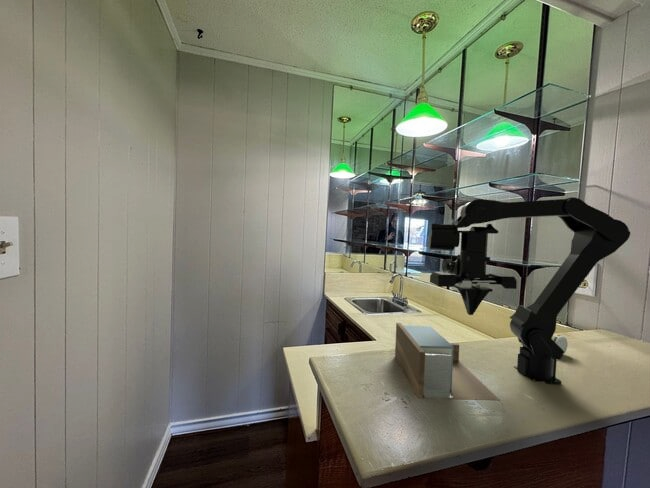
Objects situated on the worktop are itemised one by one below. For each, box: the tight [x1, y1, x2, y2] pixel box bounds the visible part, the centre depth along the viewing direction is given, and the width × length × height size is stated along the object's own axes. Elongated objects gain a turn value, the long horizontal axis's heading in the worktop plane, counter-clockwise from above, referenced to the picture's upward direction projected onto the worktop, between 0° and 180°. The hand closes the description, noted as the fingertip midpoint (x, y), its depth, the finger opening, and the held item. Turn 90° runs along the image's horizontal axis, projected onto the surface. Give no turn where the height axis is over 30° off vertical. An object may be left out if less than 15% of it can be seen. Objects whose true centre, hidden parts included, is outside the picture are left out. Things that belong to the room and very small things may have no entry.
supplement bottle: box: [552, 333, 568, 355], centre depth 77 cm, size 6×6×10 cm
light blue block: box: [402, 324, 454, 390], centre depth 60 cm, size 7×12×9 cm, turn 0°
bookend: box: [423, 353, 454, 400], centre depth 52 cm, size 6×2×8 cm, turn 90°
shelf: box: [394, 322, 501, 401], centre depth 60 cm, size 16×17×10 cm
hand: (470, 314), depth 65 cm, fingers closed
